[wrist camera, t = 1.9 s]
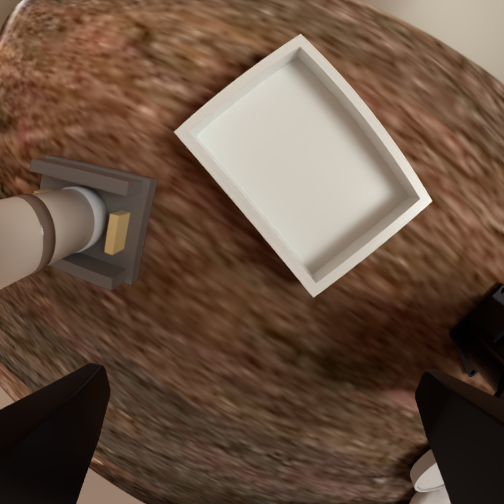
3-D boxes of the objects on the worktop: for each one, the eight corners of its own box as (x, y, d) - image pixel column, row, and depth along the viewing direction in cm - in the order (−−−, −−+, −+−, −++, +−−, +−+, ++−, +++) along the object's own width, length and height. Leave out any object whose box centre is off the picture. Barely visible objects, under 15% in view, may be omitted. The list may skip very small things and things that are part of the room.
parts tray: (414, 197, 18) (432, 201, 15) (308, 282, 20) (313, 297, 17) (297, 50, 16) (300, 34, 14) (185, 137, 18) (173, 131, 15)
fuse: (119, 219, 18) (-32, 280, 6) (84, 259, 19) (-48, 336, 7) (83, 172, 17) (-72, 189, 6) (51, 214, 18) (-86, 258, 7)
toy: (480, 516, 23) (512, 437, 16) (413, 548, 25) (401, 500, 18) (471, 494, 28) (489, 404, 22) (407, 525, 30) (388, 459, 24)
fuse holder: (158, 178, 18) (137, 180, 15) (138, 279, 20) (117, 296, 17) (55, 155, 18) (27, 155, 15) (43, 243, 20) (17, 253, 17)
